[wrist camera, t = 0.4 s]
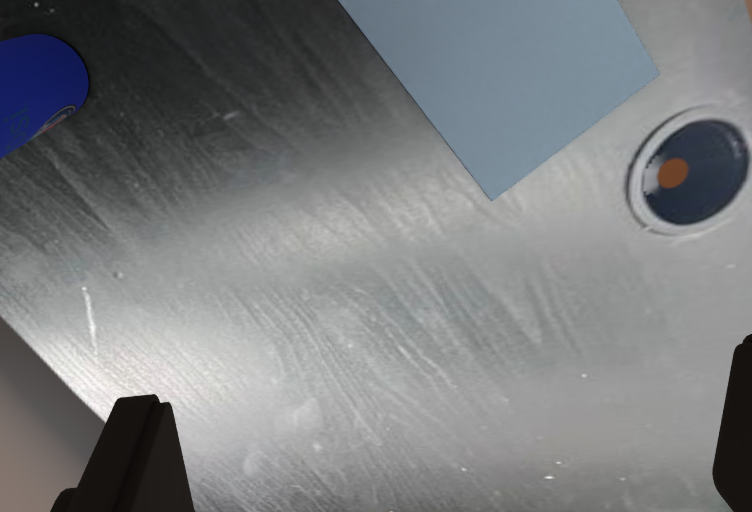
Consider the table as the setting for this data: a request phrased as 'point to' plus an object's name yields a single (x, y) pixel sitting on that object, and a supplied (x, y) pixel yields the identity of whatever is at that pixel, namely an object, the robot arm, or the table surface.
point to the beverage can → (37, 87)
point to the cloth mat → (508, 73)
